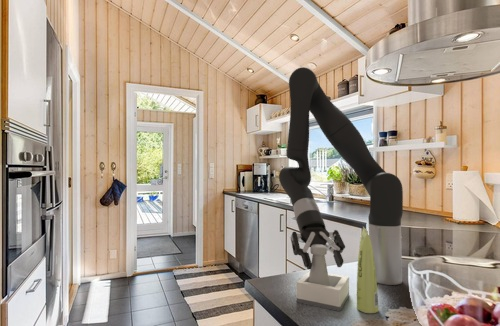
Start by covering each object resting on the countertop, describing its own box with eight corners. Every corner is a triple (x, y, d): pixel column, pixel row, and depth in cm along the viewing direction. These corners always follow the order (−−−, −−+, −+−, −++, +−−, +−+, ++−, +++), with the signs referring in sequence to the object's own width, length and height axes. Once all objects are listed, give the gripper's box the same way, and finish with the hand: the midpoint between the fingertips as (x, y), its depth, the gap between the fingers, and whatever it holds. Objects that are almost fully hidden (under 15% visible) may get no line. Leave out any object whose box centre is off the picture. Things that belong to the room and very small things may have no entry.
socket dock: (309, 288, 88) (309, 270, 88) (349, 295, 82) (348, 276, 83) (296, 302, 78) (296, 282, 78) (340, 311, 73) (339, 290, 73)
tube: (350, 306, 75) (349, 227, 76) (364, 302, 78) (363, 225, 78) (368, 316, 70) (367, 231, 71) (383, 311, 73) (382, 229, 73)
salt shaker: (314, 288, 85) (313, 241, 85) (333, 293, 81) (333, 244, 82) (304, 295, 80) (303, 245, 80) (324, 300, 76) (324, 248, 77)
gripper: (288, 209, 87) (303, 261, 75) (334, 208, 90) (355, 257, 78) (282, 225, 92) (296, 275, 80) (326, 223, 95) (345, 272, 83)
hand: (325, 266), depth 79 cm, fingers open, 8 cm apart
